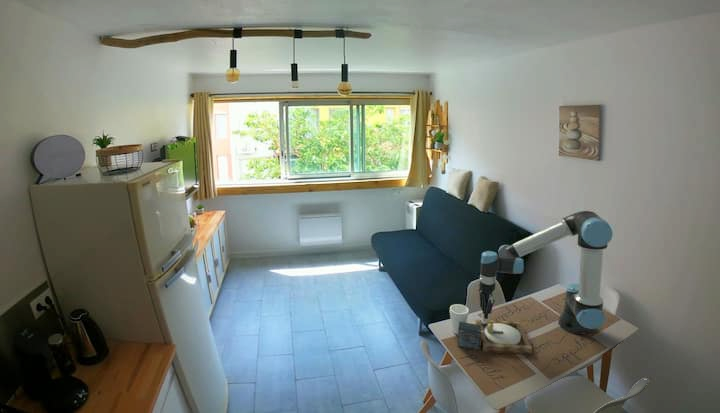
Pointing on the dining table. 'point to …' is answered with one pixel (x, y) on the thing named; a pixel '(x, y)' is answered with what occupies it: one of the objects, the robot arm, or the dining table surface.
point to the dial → (502, 334)
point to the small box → (469, 335)
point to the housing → (521, 348)
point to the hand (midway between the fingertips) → (484, 322)
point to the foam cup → (458, 316)
